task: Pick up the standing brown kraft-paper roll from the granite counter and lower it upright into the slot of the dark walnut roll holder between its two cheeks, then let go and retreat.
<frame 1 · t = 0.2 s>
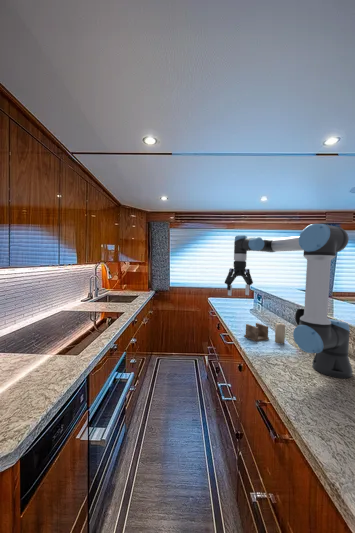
hand: (238, 295, 143), 28 cm above the countertop, fingers open, 13 cm apart
holder: (256, 338, 148), on the countertop
wine glass: (303, 342, 143), on the countertop
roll: (279, 342, 142), on the countertop
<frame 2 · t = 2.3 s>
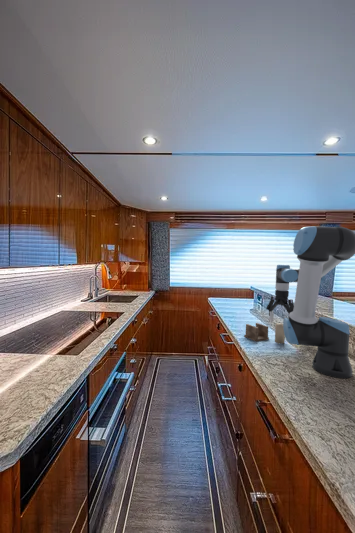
hand: (280, 324, 142), 11 cm above the countertop, fingers open, 13 cm apart
nothing on the countertop moved.
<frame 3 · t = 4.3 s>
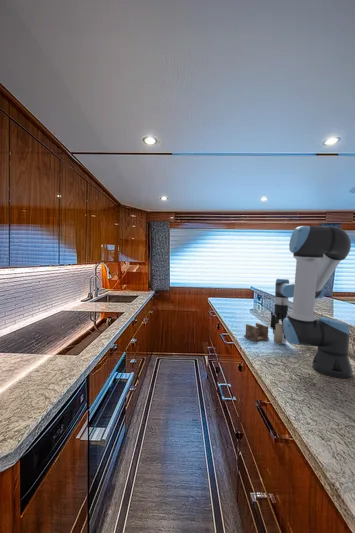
hand: (279, 341, 142), 0 cm above the countertop, fingers closed on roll, 5 cm apart
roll: (279, 342, 142), on the countertop, touching gripper
everything else where it was.
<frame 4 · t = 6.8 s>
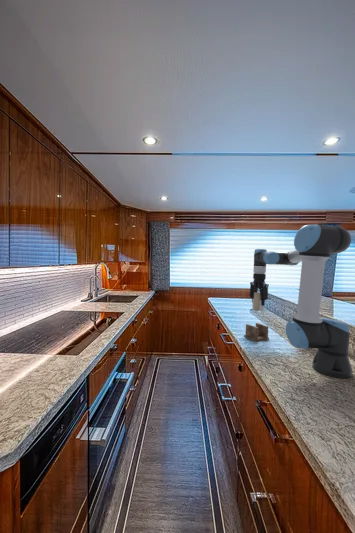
hand: (257, 309, 148), 18 cm above the countertop, fingers closed on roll, 5 cm apart
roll: (257, 309, 148), point 18 cm above the countertop, touching gripper
everything else where it was.
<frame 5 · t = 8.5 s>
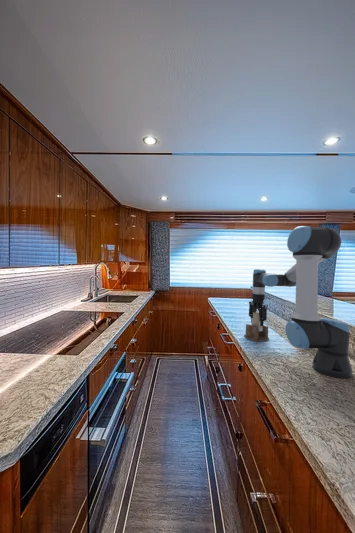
hand: (256, 329, 148), 5 cm above the countertop, fingers closed on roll, 5 cm apart
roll: (256, 329, 148), point 5 cm above the countertop, touching gripper
everything else where it was.
when the fingers open (3 cm above the countertop, at t = 9.7 s): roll drops 1 cm, resting on holder.
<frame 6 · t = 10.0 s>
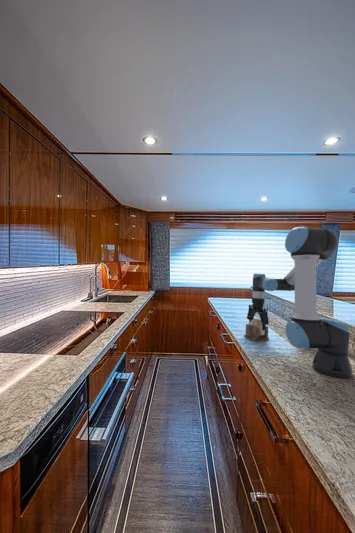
hand: (256, 332, 148), 3 cm above the countertop, fingers open, 9 cm apart
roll: (256, 336, 148), point 1 cm above the countertop, touching holder
everything else where it was.
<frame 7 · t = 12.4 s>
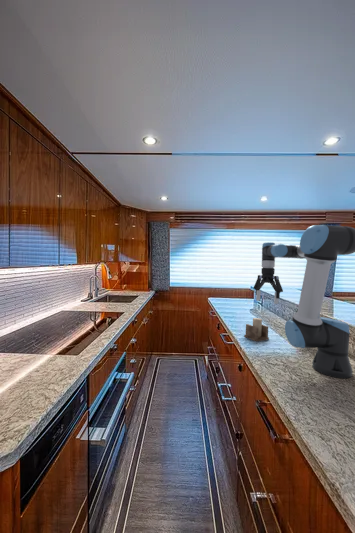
hand: (266, 302, 143), 24 cm above the countertop, fingers open, 13 cm apart
nothing on the countertop moved.
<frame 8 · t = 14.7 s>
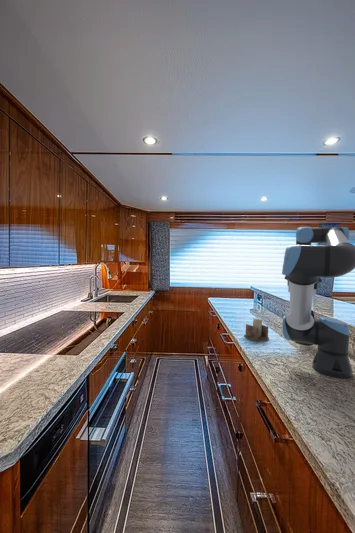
hand: (301, 293, 128), 32 cm above the countertop, fingers open, 13 cm apart
nothing on the countertop moved.
at the end: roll 0.1 cm off-centre on the holder, point 1.3 cm above the holder's base; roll tilted 1°; the gripper is holding nothing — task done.
